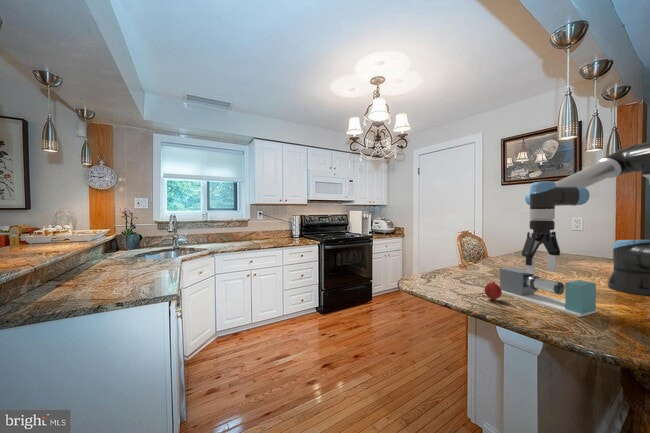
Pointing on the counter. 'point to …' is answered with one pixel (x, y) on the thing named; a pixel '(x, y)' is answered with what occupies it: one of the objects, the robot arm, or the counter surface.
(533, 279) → the slip tube
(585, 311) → the socket
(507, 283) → the sleeve
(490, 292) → the onion
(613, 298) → the counter surface
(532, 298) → the board
